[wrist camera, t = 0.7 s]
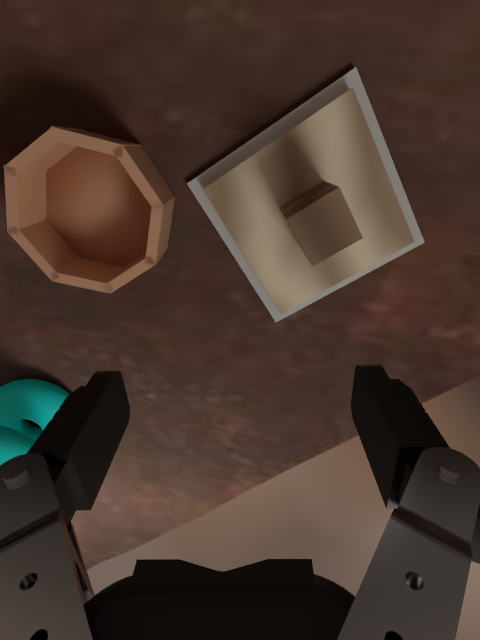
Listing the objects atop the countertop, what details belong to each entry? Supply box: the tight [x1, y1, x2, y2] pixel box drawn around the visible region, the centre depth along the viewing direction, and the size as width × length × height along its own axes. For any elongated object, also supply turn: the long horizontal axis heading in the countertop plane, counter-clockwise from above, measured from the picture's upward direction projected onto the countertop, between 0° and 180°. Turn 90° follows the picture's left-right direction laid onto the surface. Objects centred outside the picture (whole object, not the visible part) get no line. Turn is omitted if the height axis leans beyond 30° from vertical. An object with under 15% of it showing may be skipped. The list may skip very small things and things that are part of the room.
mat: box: [187, 67, 424, 322], centre depth 30 cm, size 15×15×1 cm
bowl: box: [3, 126, 175, 294], centre depth 28 cm, size 11×11×5 cm
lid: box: [203, 88, 415, 314], centre depth 27 cm, size 13×13×6 cm
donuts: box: [0, 379, 70, 465], centre depth 35 cm, size 10×10×10 cm
